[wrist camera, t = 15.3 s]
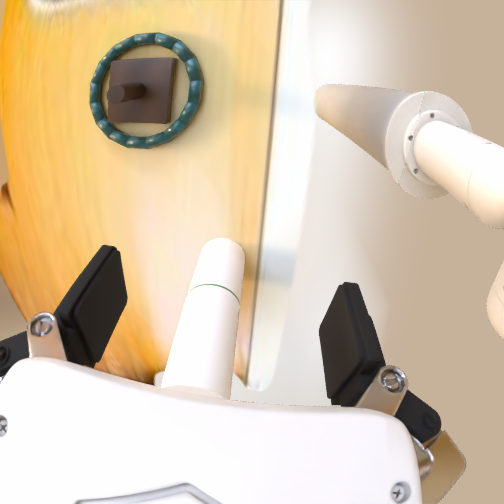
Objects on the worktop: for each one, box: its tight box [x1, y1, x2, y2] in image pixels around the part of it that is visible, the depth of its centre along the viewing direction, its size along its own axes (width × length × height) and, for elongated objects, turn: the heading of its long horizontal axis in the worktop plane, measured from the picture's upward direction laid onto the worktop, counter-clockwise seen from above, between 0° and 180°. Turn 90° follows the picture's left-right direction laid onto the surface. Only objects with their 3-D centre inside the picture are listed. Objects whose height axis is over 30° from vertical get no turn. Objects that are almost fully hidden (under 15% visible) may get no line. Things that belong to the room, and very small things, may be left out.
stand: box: [107, 58, 176, 124], centre depth 28 cm, size 9×9×8 cm
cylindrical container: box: [161, 238, 245, 400], centre depth 35 cm, size 7×7×25 cm
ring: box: [90, 33, 203, 149], centre depth 30 cm, size 17×17×2 cm
